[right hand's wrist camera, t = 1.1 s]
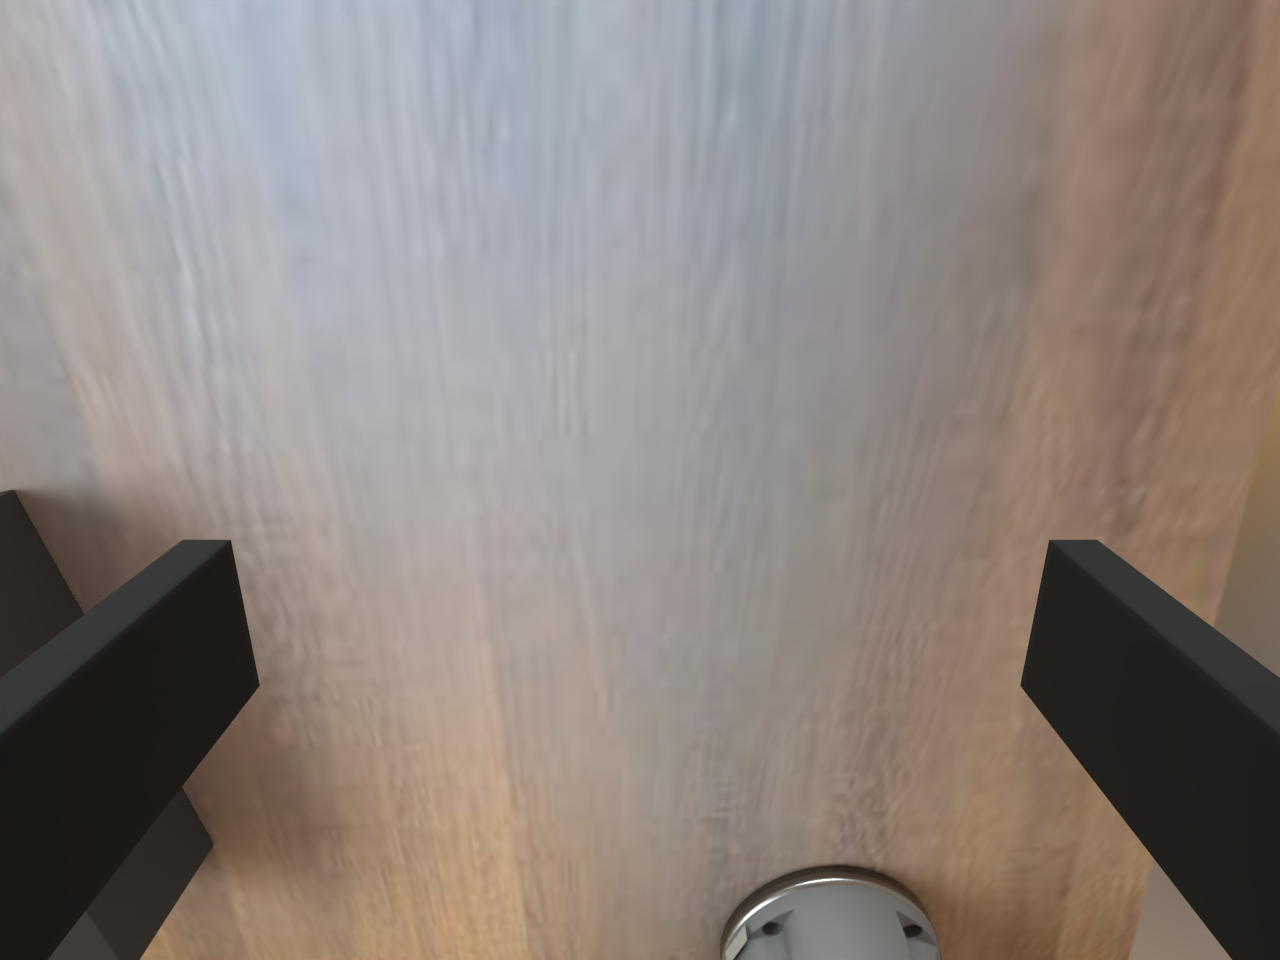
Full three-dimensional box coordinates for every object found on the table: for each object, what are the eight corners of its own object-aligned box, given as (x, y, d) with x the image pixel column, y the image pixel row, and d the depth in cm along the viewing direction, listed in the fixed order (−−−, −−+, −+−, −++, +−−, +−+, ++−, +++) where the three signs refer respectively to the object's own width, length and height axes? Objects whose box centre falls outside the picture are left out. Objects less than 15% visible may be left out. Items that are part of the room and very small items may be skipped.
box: (214, 844, 53) (129, 975, 44) (127, 861, 53) (26, 994, 45) (13, 489, 44) (-144, 565, 35) (-90, 513, 44) (-270, 595, 35)
